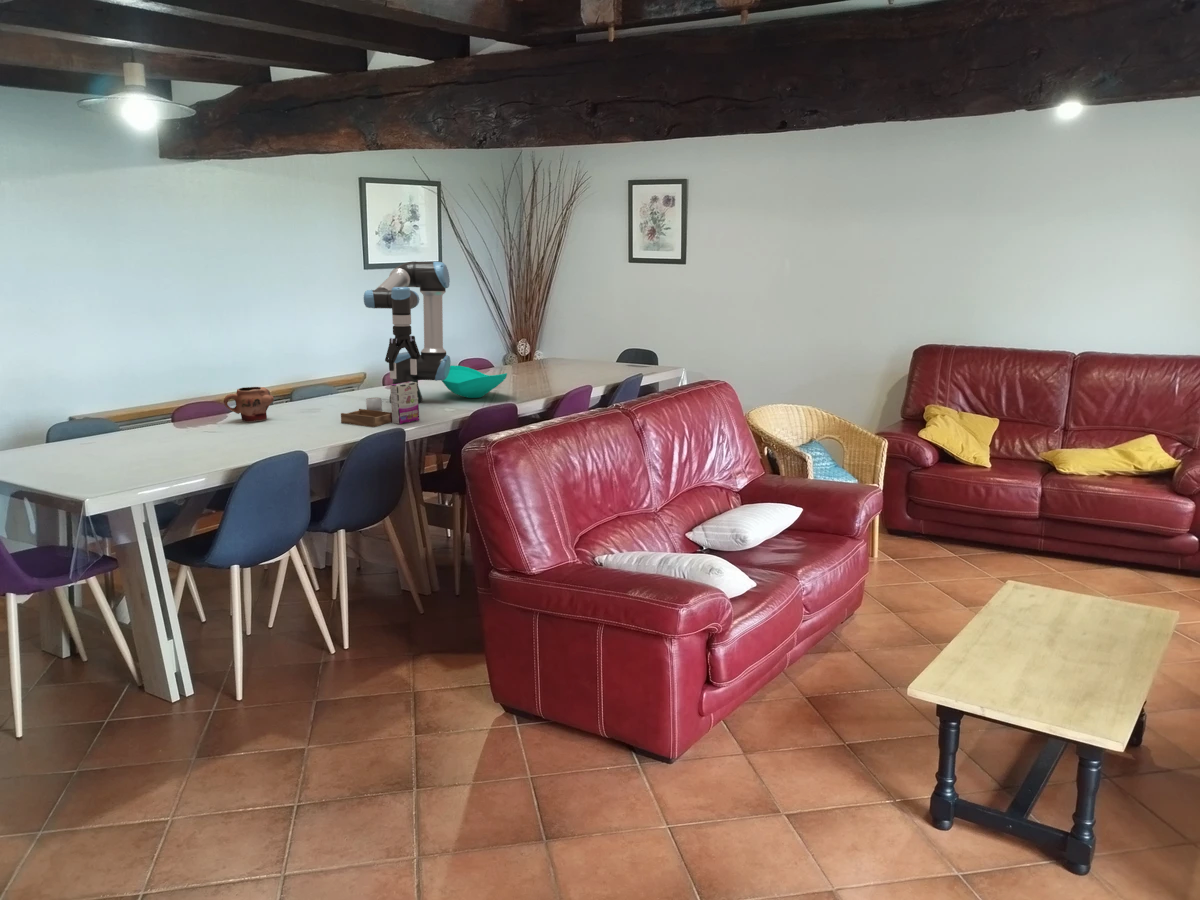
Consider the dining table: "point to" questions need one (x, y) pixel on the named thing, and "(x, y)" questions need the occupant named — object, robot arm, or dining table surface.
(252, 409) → the brown sculpted mug
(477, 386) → the table top decor
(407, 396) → the candy bar box
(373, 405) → the white rounded block
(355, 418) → the crate
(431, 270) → the robot arm
